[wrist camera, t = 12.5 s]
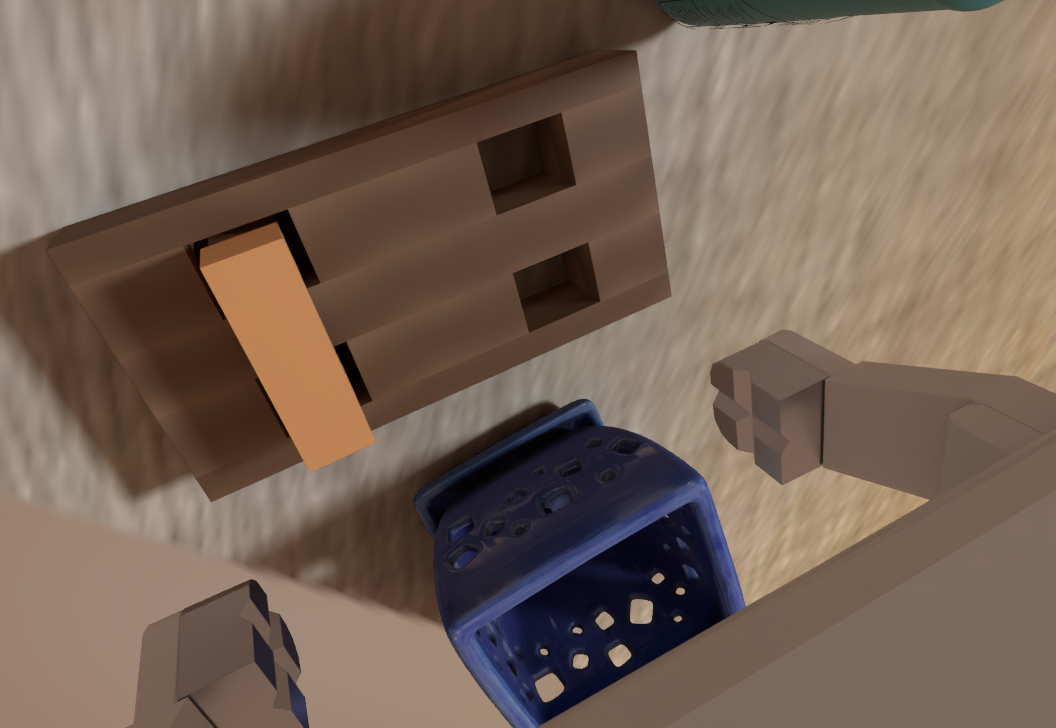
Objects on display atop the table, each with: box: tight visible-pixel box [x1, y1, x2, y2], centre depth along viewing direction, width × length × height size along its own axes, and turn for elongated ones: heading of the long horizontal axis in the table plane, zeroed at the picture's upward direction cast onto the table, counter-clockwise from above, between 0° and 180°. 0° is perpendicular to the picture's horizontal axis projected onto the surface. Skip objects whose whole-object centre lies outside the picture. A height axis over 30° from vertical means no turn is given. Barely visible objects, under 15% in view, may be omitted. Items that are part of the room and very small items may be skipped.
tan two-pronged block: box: [200, 214, 376, 472], centre depth 28 cm, size 9×3×7 cm, turn 15°
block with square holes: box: [45, 50, 671, 502], centre depth 30 cm, size 12×24×4 cm, turn 105°
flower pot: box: [414, 399, 746, 728], centre depth 36 cm, size 13×13×12 cm
